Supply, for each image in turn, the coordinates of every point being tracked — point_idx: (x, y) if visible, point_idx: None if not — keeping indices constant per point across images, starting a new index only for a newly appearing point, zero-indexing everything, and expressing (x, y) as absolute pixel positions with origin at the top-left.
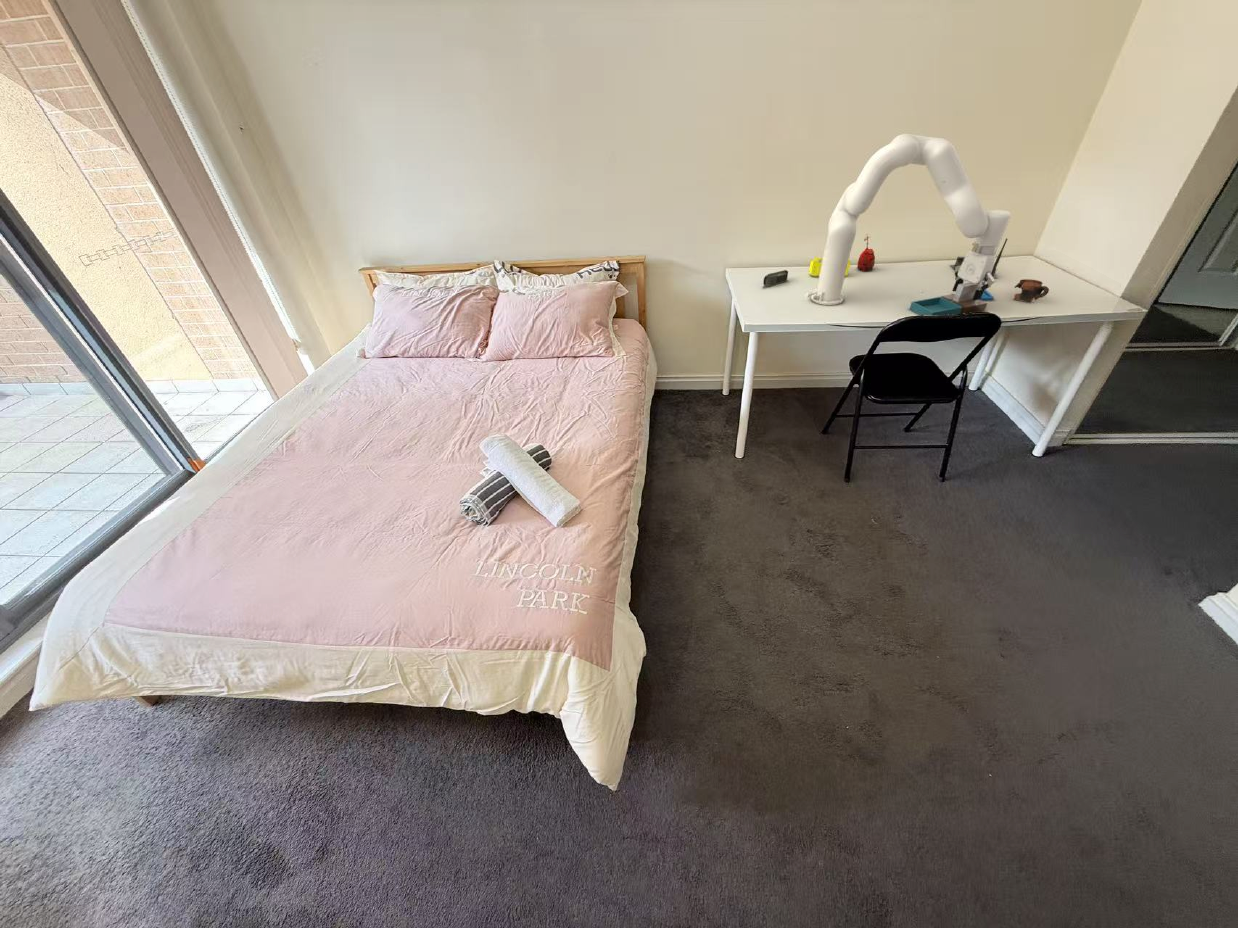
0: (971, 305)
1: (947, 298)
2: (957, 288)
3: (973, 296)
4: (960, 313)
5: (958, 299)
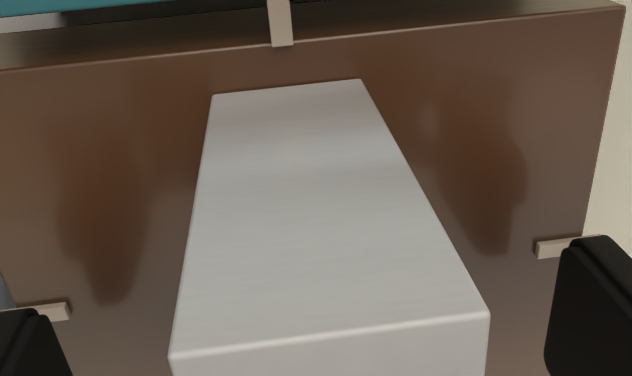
0: (2, 233)
1: (463, 31)
2: (408, 217)
3: (14, 365)
4: (34, 31)
5: (212, 116)
